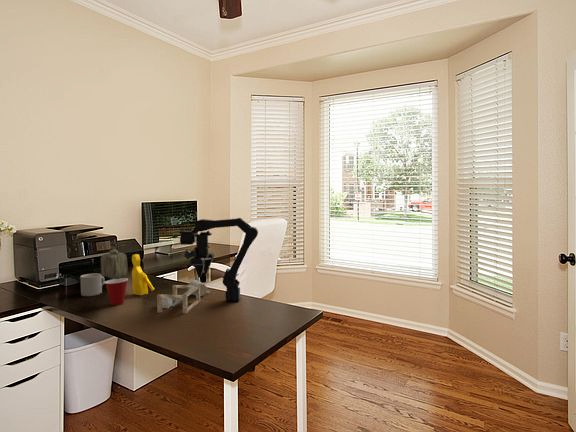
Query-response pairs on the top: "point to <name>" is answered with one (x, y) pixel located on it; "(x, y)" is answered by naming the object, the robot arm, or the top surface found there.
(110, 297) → the plastic cup
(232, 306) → the top surface
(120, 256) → the tabletop clock
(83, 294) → the coffee mug
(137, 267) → the figure statuette
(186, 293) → the flap
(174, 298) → the birch frame
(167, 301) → the steel cube
